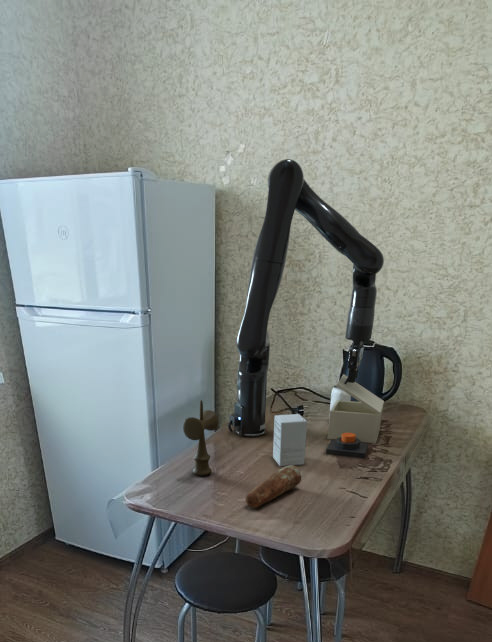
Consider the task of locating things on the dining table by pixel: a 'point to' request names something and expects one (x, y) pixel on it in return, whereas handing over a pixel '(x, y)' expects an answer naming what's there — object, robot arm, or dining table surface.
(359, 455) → the button block
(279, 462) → the white packaging box
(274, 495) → the bread
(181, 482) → the dining table surface
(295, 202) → the robot arm
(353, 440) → the release button
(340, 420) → the hinged lid box
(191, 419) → the kendama
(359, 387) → the box lid
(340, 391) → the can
